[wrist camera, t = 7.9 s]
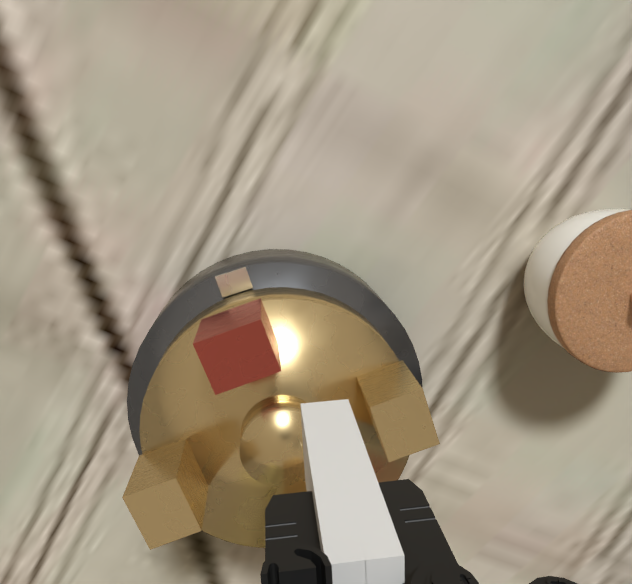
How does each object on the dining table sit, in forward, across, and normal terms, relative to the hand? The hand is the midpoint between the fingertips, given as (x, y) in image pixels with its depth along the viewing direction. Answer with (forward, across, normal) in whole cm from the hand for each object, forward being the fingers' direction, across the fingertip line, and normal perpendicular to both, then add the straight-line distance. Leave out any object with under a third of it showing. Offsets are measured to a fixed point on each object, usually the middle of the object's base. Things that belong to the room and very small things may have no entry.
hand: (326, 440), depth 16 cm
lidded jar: (+23, +22, -1) cm, 31 cm away
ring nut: (+17, -1, -8) cm, 19 cm away
